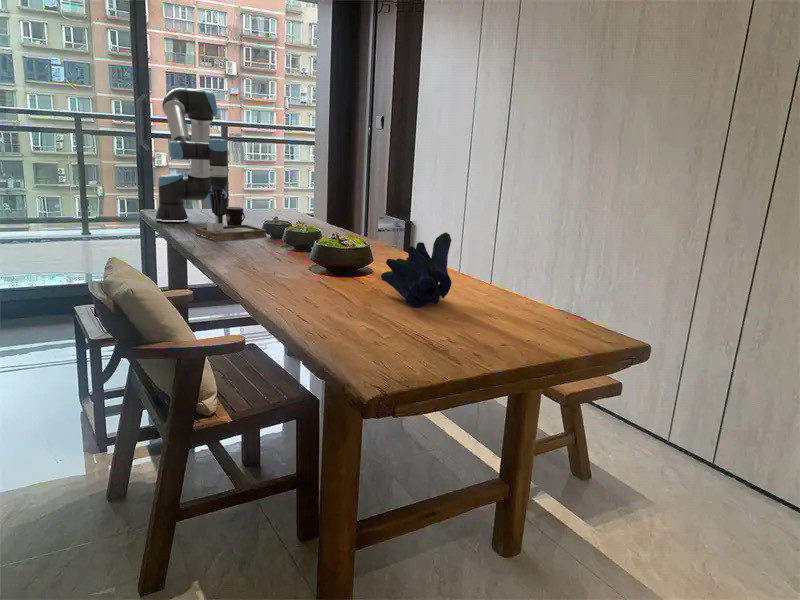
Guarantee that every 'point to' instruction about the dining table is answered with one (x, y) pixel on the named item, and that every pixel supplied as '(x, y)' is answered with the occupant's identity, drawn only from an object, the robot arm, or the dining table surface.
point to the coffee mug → (234, 216)
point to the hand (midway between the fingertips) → (219, 230)
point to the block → (212, 227)
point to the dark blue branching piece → (421, 273)
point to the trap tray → (233, 232)
